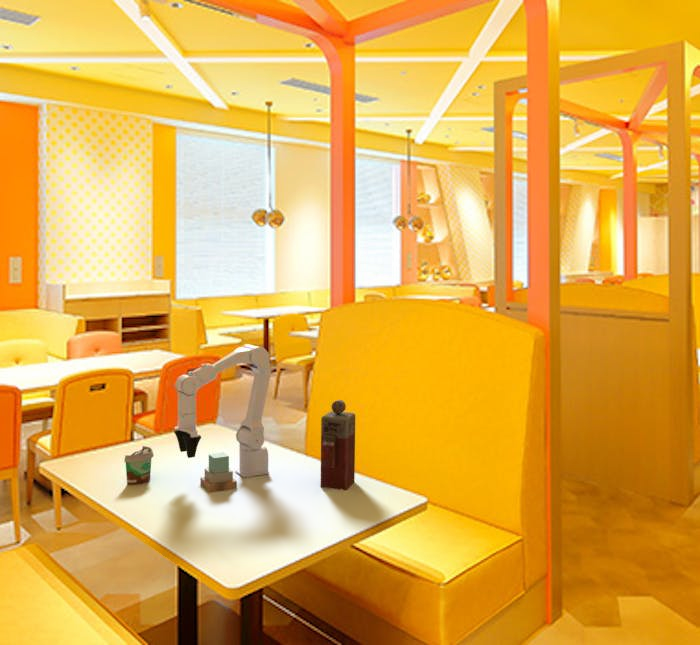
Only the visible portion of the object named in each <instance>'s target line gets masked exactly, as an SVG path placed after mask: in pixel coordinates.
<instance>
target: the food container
mask: <svg viewBox="0 0 700 645" xmlns="http://www.w3.org/2000/svg"><path fill="white" fill-rule="evenodd" d="M154 456H155V455H154V452H153V449H152V447H149V446H146V445H145V446H144V445H142V447H141V449H139V450H137V451H134V452H133V453H131V454H130V455H128V454H127V455H126V454H125V455H124V461H123V462H124V463H125V472H126V485H128V486H134V485H135V486H136V485H143V484H146V483H148V482H150V481H151V469H152V459H153V457H154Z"/></svg>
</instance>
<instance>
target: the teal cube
mask: <svg viewBox="0 0 700 645" xmlns="http://www.w3.org/2000/svg"><path fill="white" fill-rule="evenodd" d="M208 468H209V470H210V471H211V472H213V473H214V474H215V473H221V472H228V471H229V469H230V457H229V455H228V454H227V453H225V452H224V451H223V452H216V453H208Z"/></svg>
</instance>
